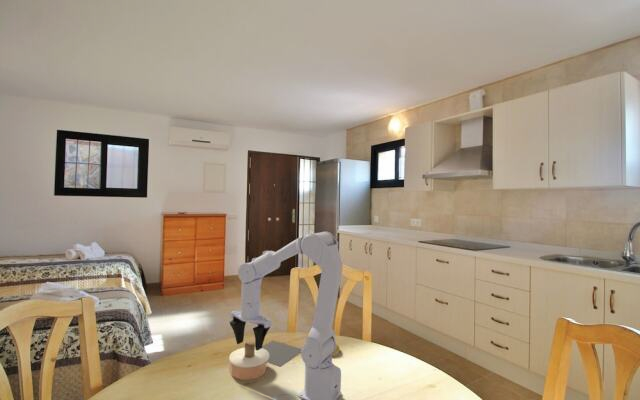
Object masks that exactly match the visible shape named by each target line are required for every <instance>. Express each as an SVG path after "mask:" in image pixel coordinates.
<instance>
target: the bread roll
mask: <svg viewBox="0 0 640 400" xmlns="http://www.w3.org/2000/svg"><path fill="white" fill-rule="evenodd" d="M340 350H341V349H340V346H339V344H338V343H336V349H335V351H334V352H333V353H332V357H336V356H338V355H339V354H340V352H341V351H340Z"/></svg>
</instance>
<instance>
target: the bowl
mask: <svg viewBox="0 0 640 400" xmlns="http://www.w3.org/2000/svg"><path fill="white" fill-rule="evenodd" d="M267 366H268V362H265V363H264V364H262V365H259V366H255V367H238V366H235V365H233V364H232V363H231V362H230V361H229V366H228V367H229V369H228V370H229V374H230V376H231V377H232V378H234V379H237V380H242V381H247V380H248V381H249V380H254V379H257V378H260V377H262V376H263V375H264V374H265V373H266V371H267Z"/></svg>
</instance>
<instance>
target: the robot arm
mask: <svg viewBox="0 0 640 400" xmlns="http://www.w3.org/2000/svg"><path fill="white" fill-rule="evenodd" d="M298 254H299V255H305V257H307V258H308V259H310V260H311V261H312V262H313V263H314V264H316V265H317V266H318V268H319V269H320V270H321V275H320V279H319V286H318V290H317V298H316V304H315V308H314V317H313V321H312V327H311V329H310V331H309V332H308V334H307V336H306V340H305V343H304V344H303V346H302V347H301V348H300V349H301V353H300V355H301V360H302V361H303V363H304V389H303V390H301V392H299V393H298V394H297V397H298V398H300V399H302V400H338V399H339V398H340V396H341V395H342V391H341V390H342V389H341V388H342V370H341V368H340V367H339V366H337V365H335V364H334V363H333V358H332V357H333V356H332V353H333V352H334V351H335V349H336V344H337V341H336V337H335V335H336V330H334V328H333V325H334V320H335V313H336V309H337V308H336V307H337V302H338V301H337V300H338V297H339V296H338V295H339V290H340V284H341V279H342V273H343V265H344V264H343V261H342V258H341V254H340V251H339V241H338V239H336V237H335V236H334V235H333V234H332V233H331V232H330V231H322V232H315V233H307V234H305V235H304V236H301V237H297V238H296V239H295V240H293V241H291V242H290V243H288V244H286V245H284V246H283V247H281V248H280V249H278V250H277V251H274V250H264V251H262V254H261V255H260V256H258V257H253V258H252V259H251V261H250V262H243V263H242V264H241V265H240V266H238V267H239V268H238V270H237V276H238V278H239V280H240V281H241V292H240V293H241V295H240V297H241V299H240V311H239V310H232V311H230V316H229V317H230V319H232V320H231V321H229V325H230V327H231V328H232V330H233V333H234V337H235V341H236V344H237V345H240V344H242V343H244V336H245V327H246V324H247V323H251V324H255V325H257V326H254V327H253V328H252V330H253V334H254V340H255V341H254V343H255V348H256V350H257V351H258V350H260V349H261V348H262V346H264V341H265V338H266V337H267V334H268V332H269V330H270V328H271V324H272V321H271V319H269V318H267V317H265V316H263V315H262V314H261V284H262V282H263V278H264V277H265V276H266V275H268V274H271V273H272V272H274V271H276V270H278V269H279V268H280V267H281V262H284V261H285V260H287V259H289V258H290V259H291V257H294V256H296V255H298Z"/></svg>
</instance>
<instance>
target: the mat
mask: <svg viewBox="0 0 640 400" xmlns="http://www.w3.org/2000/svg"><path fill="white" fill-rule="evenodd" d="M262 348H263V349H265V350H267V351H268V352H269V359H268V361H267V364H272V365H273V366H277V367H280V368H281V367H283V366H285V364H287V363H288V362H290V361H291V360H292V359H294V358H296V357H297V356H299V355H301V349H302V348H300V347H296V346H293V345H289V344H286V343H283V342H280V341H276V340H270V341H269V342H267V343H265V344H263V345H262Z"/></svg>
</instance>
